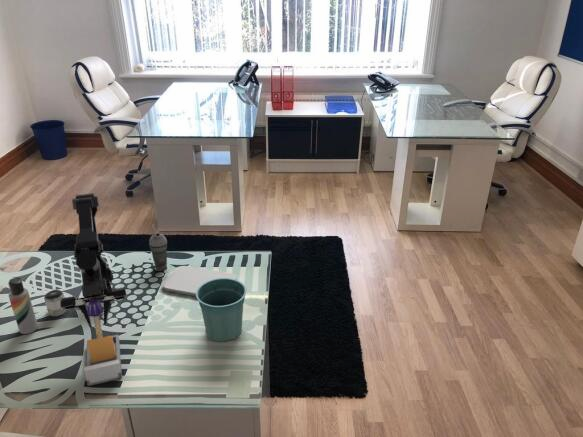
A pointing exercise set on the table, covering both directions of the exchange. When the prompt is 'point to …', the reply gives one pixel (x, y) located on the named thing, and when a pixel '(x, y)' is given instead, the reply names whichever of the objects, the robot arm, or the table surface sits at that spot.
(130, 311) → the table surface
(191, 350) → the table surface
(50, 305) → the jar with dark lid
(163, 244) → the beverage cup
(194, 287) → the tablet
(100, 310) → the toy lamp
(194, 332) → the table surface
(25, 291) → the lotion bottle
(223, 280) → the flower pot
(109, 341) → the block
